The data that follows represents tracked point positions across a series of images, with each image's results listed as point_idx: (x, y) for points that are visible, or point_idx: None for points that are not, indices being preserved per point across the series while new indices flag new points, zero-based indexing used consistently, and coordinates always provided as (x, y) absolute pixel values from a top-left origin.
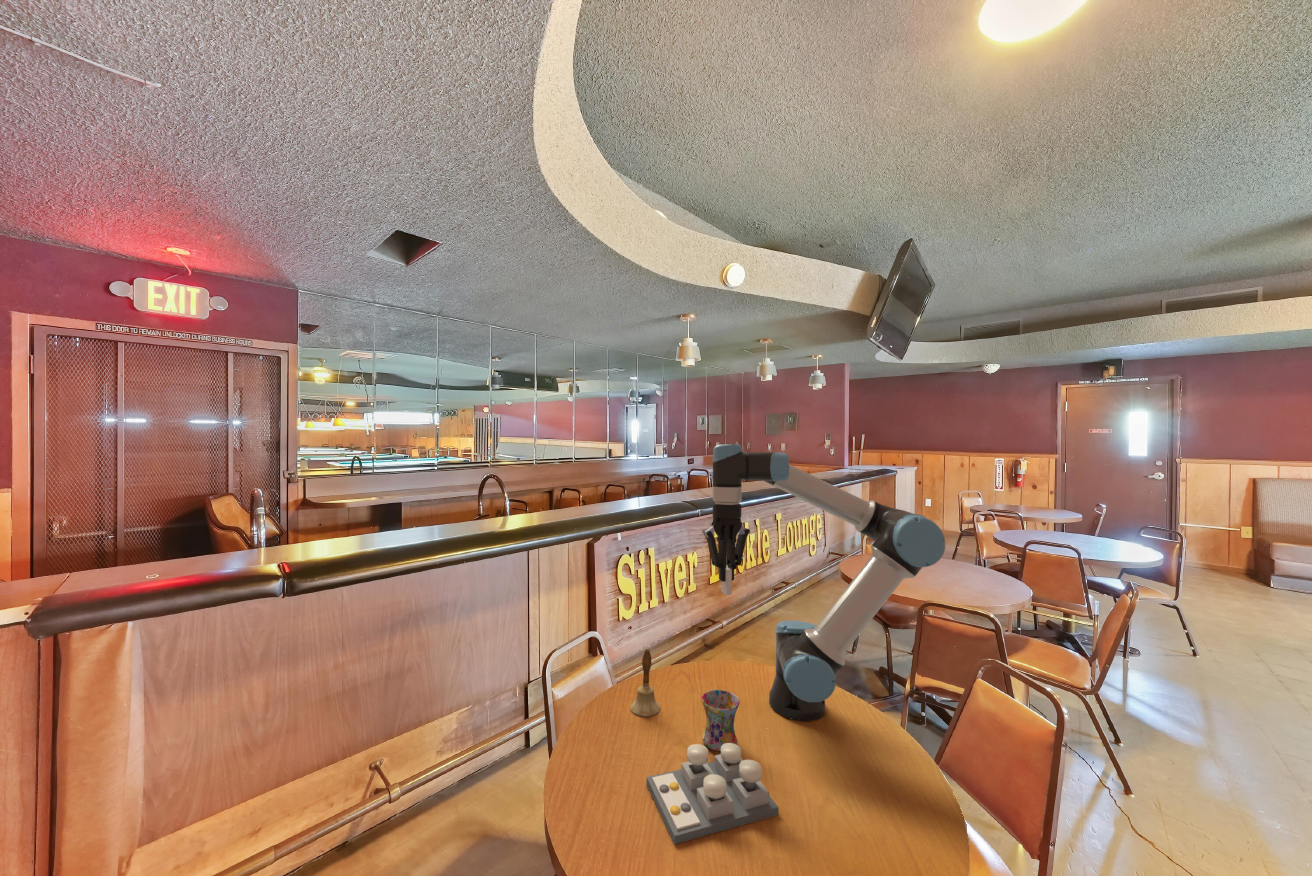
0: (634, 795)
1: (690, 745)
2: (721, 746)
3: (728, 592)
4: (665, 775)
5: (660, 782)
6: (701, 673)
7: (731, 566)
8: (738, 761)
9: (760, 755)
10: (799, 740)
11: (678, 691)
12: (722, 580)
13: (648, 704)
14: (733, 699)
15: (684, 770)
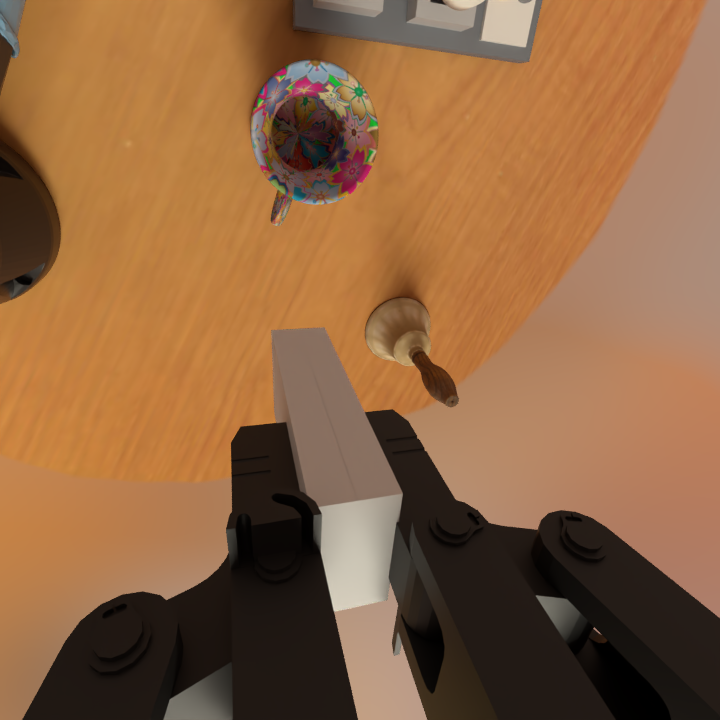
0: (555, 40)
1: (475, 5)
2: None
3: (308, 336)
4: (498, 38)
5: (520, 17)
6: (201, 439)
7: (317, 552)
8: None
9: (212, 28)
10: (41, 35)
11: None
12: (392, 415)
13: (407, 316)
14: (261, 138)
15: None
